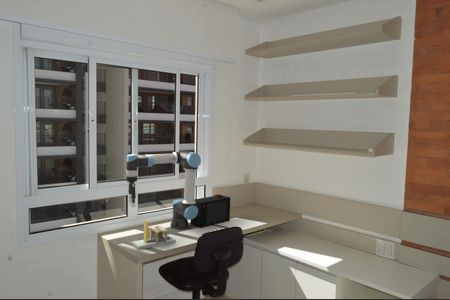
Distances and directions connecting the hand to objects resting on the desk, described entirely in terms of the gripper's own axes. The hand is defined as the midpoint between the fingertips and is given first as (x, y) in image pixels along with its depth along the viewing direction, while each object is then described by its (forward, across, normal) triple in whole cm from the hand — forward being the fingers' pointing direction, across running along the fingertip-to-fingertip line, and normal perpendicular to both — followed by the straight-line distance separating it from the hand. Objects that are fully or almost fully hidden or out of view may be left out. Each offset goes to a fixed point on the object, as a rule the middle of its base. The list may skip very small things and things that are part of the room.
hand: (131, 204), depth 247 cm
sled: (+25, +8, +15) cm, 30 cm away
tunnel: (+26, +8, +18) cm, 32 cm away
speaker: (+28, -29, +72) cm, 82 cm away
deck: (+28, +8, +14) cm, 32 cm away
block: (+24, +8, +18) cm, 31 cm away
